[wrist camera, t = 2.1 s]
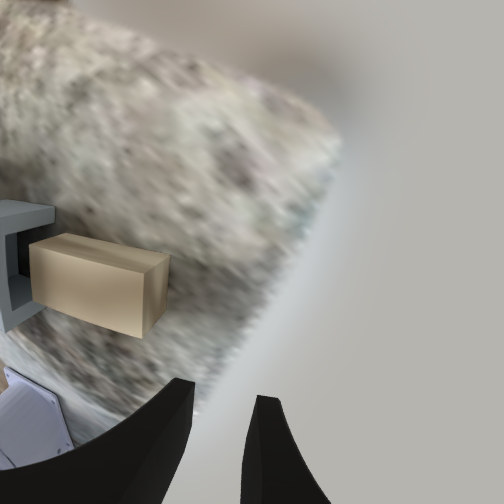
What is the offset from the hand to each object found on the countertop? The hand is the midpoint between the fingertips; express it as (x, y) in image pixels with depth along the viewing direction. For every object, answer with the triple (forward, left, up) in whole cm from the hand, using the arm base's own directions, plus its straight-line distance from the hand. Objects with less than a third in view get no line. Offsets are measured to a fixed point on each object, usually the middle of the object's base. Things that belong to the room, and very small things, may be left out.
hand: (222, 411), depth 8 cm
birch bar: (0, +9, -10) cm, 13 cm away
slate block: (0, +17, -9) cm, 19 cm away
